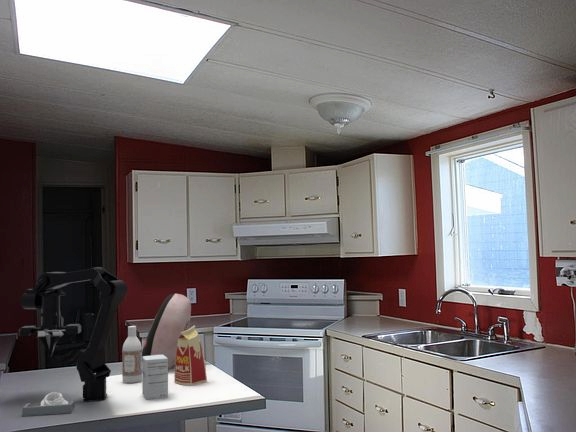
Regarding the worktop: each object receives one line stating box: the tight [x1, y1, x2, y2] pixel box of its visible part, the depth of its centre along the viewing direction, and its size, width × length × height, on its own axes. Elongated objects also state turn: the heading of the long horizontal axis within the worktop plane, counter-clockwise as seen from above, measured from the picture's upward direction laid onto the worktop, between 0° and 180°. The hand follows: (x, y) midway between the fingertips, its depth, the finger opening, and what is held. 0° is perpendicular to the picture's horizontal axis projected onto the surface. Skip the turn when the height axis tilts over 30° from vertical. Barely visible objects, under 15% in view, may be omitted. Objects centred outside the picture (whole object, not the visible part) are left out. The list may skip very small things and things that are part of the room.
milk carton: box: [173, 325, 208, 386], centre depth 198 cm, size 9×9×20 cm
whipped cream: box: [40, 391, 70, 406], centre depth 168 cm, size 8×7×5 cm
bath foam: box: [121, 325, 143, 384], centre depth 201 cm, size 7×7×20 cm
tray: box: [21, 399, 76, 417], centre depth 163 cm, size 14×5×2 cm, turn 99°
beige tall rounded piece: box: [142, 293, 192, 370], centre depth 225 cm, size 22×20×30 cm
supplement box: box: [141, 355, 169, 400], centre depth 180 cm, size 7×7×13 cm
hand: (50, 356), depth 183 cm, fingers closed
